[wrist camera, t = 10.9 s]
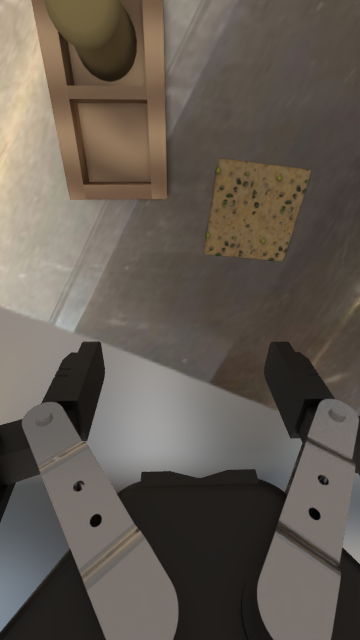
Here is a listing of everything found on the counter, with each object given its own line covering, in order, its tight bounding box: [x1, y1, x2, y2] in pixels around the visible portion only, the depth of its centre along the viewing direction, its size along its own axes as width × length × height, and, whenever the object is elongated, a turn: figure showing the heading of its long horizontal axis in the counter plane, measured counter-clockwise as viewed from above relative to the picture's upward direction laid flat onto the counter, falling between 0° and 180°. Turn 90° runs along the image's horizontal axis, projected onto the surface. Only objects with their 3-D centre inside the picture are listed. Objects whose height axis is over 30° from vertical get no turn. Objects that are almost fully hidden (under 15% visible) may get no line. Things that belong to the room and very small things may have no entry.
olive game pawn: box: [44, 0, 137, 82], centre depth 22 cm, size 6×6×11 cm
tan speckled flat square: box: [204, 158, 311, 261], centre depth 37 cm, size 12×12×1 cm
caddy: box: [32, 0, 167, 200], centre depth 28 cm, size 19×11×4 cm, turn 0°
